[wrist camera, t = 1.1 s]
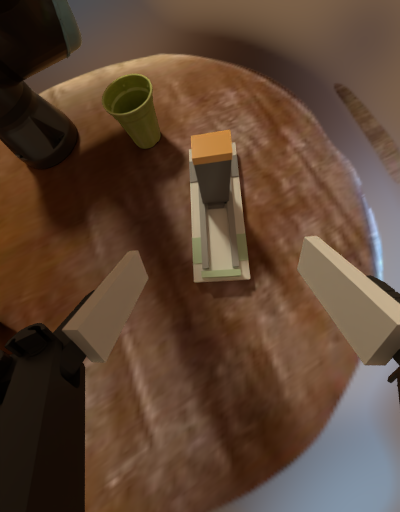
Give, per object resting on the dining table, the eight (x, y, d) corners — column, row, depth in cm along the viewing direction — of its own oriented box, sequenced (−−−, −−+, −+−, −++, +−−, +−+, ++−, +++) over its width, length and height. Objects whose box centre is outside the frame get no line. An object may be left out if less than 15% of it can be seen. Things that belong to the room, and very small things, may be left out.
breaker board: (248, 279, 28) (251, 278, 24) (195, 282, 29) (192, 281, 25) (234, 151, 33) (235, 135, 30) (190, 157, 35) (187, 142, 31)
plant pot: (128, 125, 39) (102, 79, 30) (167, 117, 38) (151, 67, 29) (128, 158, 37) (100, 119, 28) (168, 151, 36) (152, 108, 27)
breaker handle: (229, 207, 29) (232, 155, 18) (203, 210, 29) (192, 162, 18) (227, 187, 29) (229, 126, 19) (202, 190, 30) (190, 132, 19)
